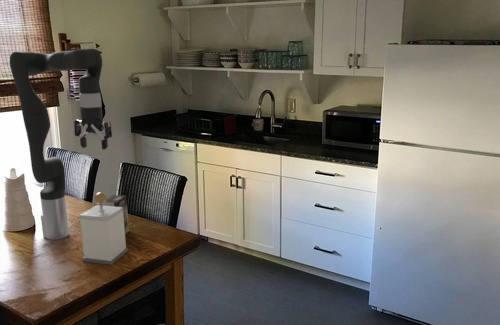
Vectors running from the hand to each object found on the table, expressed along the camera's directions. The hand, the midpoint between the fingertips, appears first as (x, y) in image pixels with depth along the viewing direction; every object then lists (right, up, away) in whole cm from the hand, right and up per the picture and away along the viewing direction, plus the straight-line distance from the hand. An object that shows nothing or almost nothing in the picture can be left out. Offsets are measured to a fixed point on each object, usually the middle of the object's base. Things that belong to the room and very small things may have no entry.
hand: (94, 148), depth 176 cm
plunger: (+4, -36, 0) cm, 36 cm away
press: (+4, -40, +3) cm, 41 cm away
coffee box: (+3, -36, +21) cm, 42 cm away
